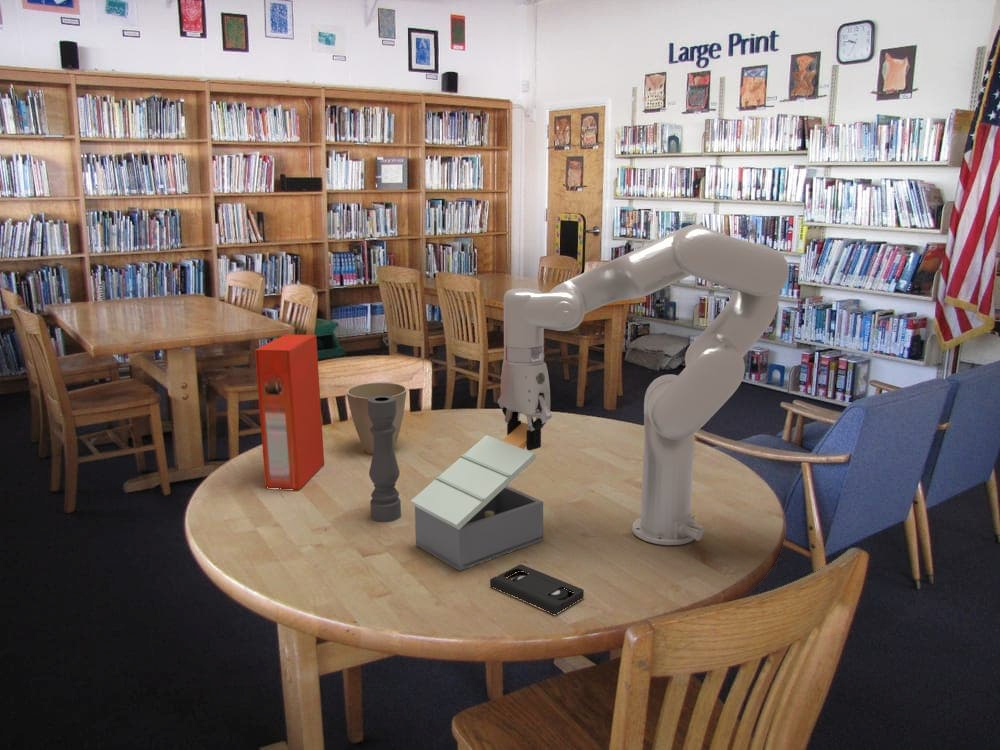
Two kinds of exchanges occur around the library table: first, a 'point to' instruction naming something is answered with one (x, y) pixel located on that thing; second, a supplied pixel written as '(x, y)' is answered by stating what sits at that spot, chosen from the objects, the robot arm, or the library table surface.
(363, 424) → the plant pot
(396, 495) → the candle holder
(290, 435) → the file binder
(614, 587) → the library table surface
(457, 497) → the lid
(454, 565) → the tub
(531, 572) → the vhs tape
